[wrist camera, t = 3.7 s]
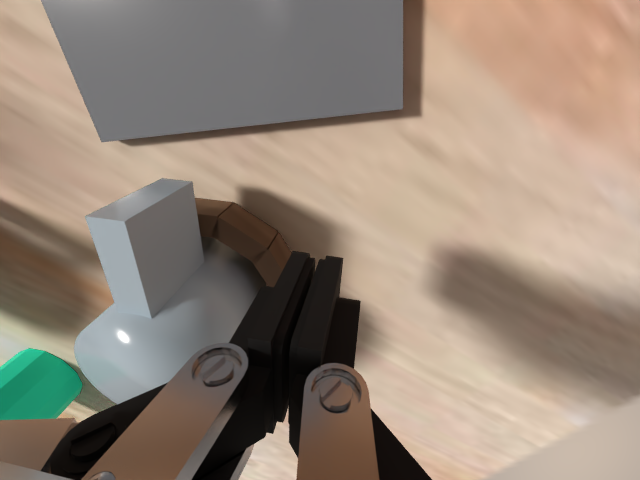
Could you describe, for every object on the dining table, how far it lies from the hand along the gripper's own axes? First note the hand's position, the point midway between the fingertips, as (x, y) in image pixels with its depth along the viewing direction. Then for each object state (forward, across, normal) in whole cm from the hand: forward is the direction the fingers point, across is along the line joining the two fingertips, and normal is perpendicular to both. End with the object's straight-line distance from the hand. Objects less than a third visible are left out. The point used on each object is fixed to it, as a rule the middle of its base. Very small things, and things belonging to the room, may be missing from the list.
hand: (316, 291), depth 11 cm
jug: (+6, +7, +3) cm, 9 cm away
